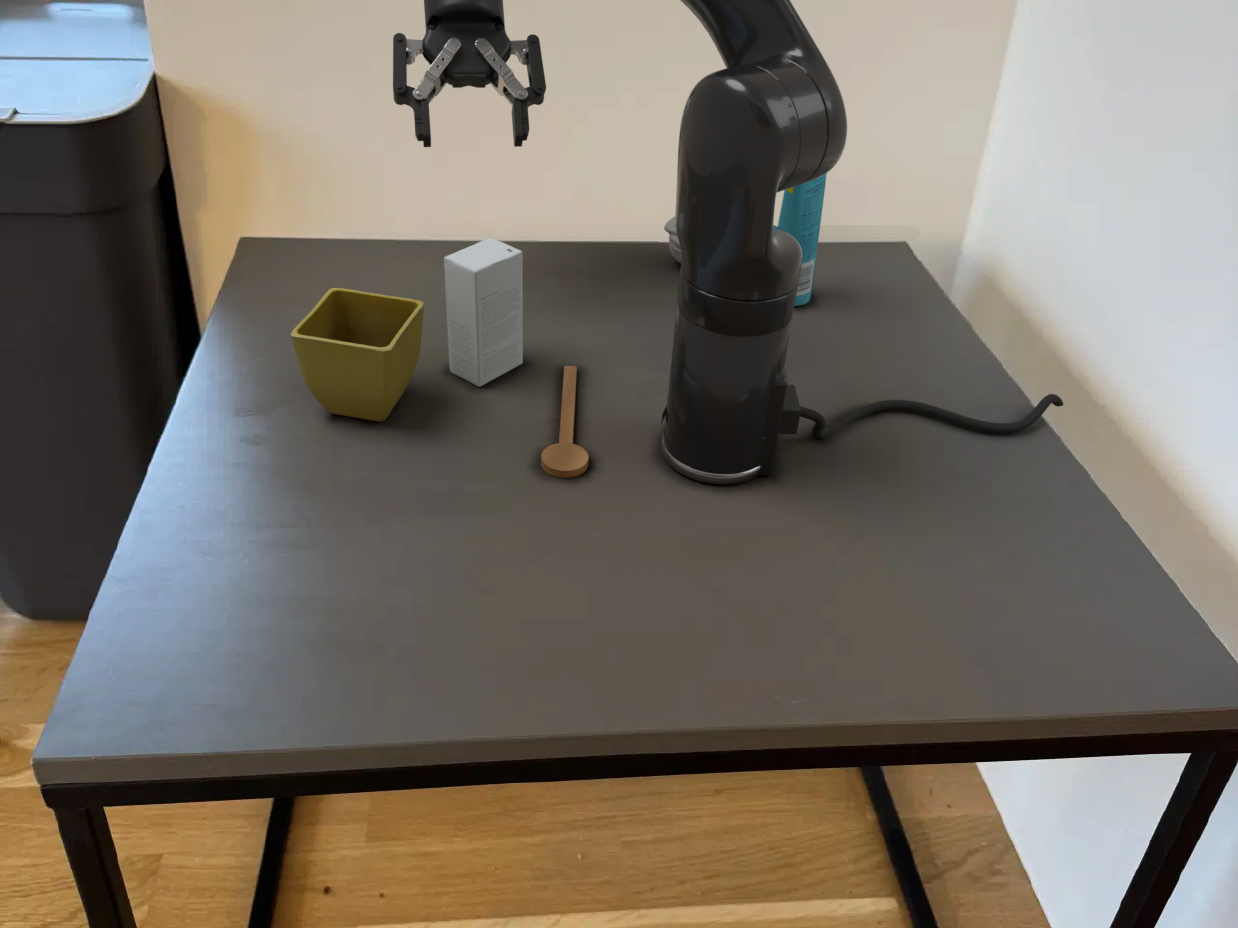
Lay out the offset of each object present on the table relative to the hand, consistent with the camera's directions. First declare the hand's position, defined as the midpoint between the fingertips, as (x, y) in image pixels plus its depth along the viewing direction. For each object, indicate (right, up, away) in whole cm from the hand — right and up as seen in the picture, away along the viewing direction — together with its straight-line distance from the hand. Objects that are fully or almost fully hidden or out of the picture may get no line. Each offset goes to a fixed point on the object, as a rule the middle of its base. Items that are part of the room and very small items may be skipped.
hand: (473, 143), depth 104 cm
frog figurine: (+22, -7, +22) cm, 32 cm away
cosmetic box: (+1, -21, +2) cm, 21 cm away
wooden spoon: (+9, -27, -6) cm, 29 cm away
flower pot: (-9, -25, -5) cm, 27 cm away
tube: (+32, -12, +17) cm, 38 cm away
